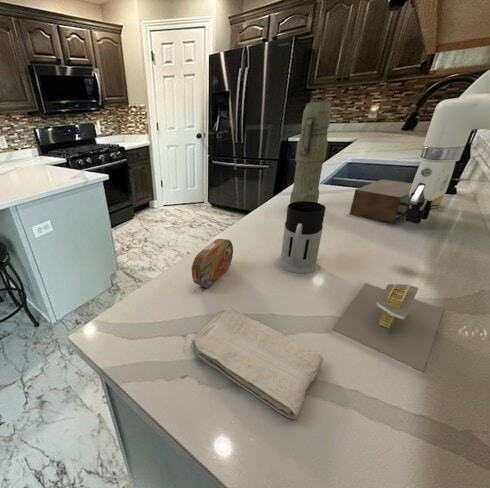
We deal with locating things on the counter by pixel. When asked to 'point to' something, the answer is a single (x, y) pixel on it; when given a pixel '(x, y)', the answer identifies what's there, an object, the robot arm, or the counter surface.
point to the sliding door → (403, 207)
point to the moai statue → (311, 151)
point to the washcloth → (259, 360)
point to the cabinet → (380, 200)
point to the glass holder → (302, 236)
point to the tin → (212, 262)
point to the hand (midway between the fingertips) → (416, 219)
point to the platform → (392, 322)
